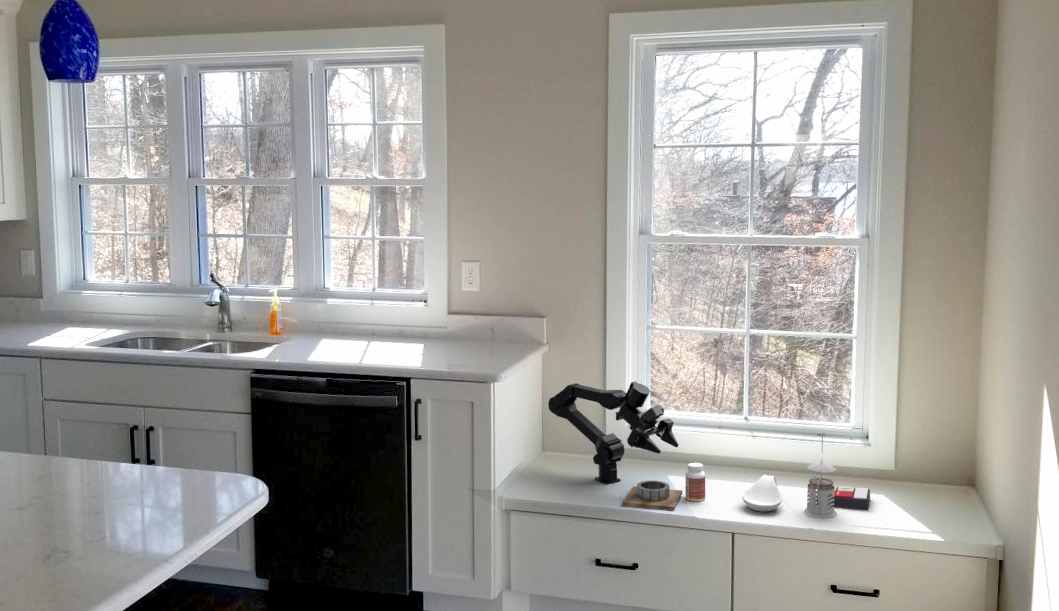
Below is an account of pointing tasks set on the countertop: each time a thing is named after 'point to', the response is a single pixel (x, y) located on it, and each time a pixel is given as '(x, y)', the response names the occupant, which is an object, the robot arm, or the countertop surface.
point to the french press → (820, 491)
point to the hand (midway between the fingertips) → (669, 449)
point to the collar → (653, 491)
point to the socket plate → (666, 504)
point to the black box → (851, 497)
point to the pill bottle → (695, 482)
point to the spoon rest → (763, 495)
